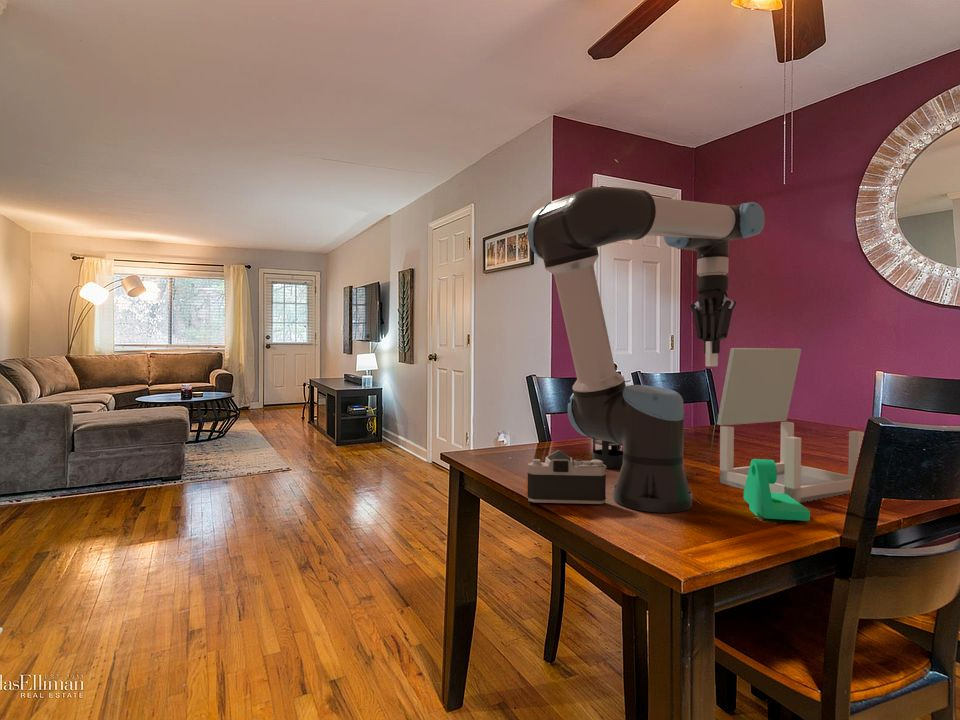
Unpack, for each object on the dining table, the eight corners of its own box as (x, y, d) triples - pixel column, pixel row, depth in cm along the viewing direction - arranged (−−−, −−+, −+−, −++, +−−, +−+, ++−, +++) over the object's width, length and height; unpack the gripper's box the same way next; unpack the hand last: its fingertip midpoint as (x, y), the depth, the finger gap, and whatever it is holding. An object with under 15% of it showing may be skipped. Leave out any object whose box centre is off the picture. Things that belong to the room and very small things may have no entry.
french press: (622, 470, 130) (623, 380, 130) (586, 466, 135) (586, 378, 135) (633, 462, 141) (634, 378, 140) (599, 458, 145) (600, 377, 145)
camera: (601, 493, 110) (602, 446, 110) (609, 505, 102) (609, 454, 101) (527, 491, 111) (527, 445, 111) (527, 503, 103) (528, 453, 102)
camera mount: (812, 527, 89) (812, 468, 89) (764, 524, 91) (764, 466, 91) (785, 506, 101) (786, 454, 101) (743, 504, 103) (744, 453, 102)
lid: (734, 348, 115) (726, 346, 117) (720, 425, 119) (712, 422, 121) (801, 349, 124) (793, 347, 126) (786, 420, 127) (778, 417, 129)
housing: (793, 503, 102) (794, 438, 102) (719, 482, 119) (720, 426, 119) (863, 492, 111) (864, 432, 111) (785, 474, 128) (786, 421, 127)
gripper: (744, 273, 130) (743, 366, 130) (703, 279, 142) (702, 365, 142) (722, 271, 127) (721, 367, 127) (682, 278, 139) (681, 365, 139)
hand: (711, 366), depth 135 cm, fingers closed
